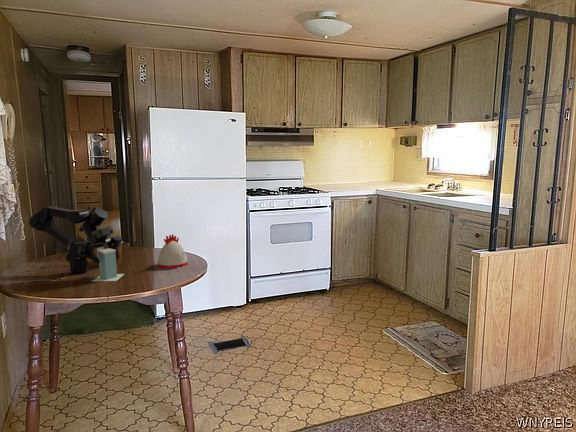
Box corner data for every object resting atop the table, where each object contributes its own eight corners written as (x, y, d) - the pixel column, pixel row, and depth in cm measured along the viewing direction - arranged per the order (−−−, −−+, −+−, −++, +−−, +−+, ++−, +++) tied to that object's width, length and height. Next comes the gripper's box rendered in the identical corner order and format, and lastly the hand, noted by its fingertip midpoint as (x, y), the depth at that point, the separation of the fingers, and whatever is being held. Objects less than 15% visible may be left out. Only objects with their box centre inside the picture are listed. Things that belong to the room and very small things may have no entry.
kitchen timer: (152, 266, 202) (150, 235, 200) (175, 260, 213) (173, 230, 211) (170, 270, 194) (168, 238, 192) (193, 264, 205) (192, 233, 202)
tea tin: (99, 277, 182) (97, 250, 180) (110, 275, 186) (108, 248, 185) (106, 279, 179) (104, 252, 177) (117, 276, 183) (115, 249, 182)
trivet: (92, 281, 178) (92, 281, 178) (101, 274, 188) (101, 274, 188) (116, 281, 178) (116, 280, 178) (124, 274, 188) (124, 273, 188)
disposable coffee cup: (123, 265, 204) (121, 240, 202) (102, 266, 201) (100, 242, 200) (125, 260, 213) (123, 237, 211) (104, 261, 210) (102, 238, 209)
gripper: (78, 224, 174) (95, 253, 169) (118, 218, 189) (135, 245, 184) (69, 240, 179) (86, 269, 175) (109, 233, 195) (125, 260, 190)
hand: (109, 260), depth 181 cm, fingers open, 9 cm apart
